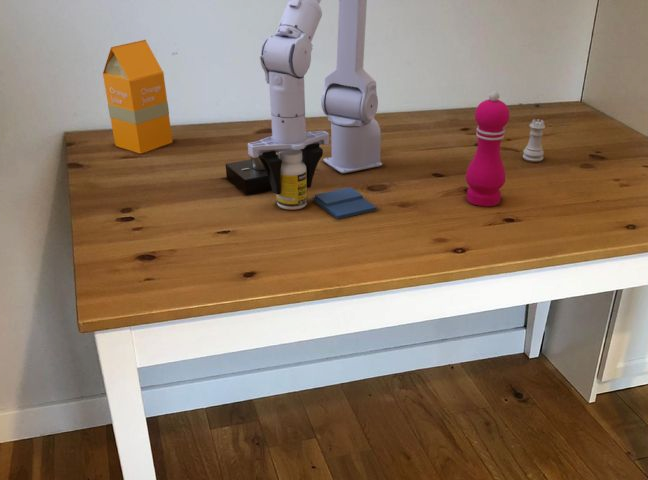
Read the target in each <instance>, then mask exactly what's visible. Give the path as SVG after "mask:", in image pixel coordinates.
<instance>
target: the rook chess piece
mask: <svg viewBox="0 0 648 480" xmlns="http://www.w3.org/2000/svg"><path fill="white" fill-rule="evenodd" d="M529 127H530V131H529V139H528V143H527V145H526V146H525V148H524V149H523V154H522V158H523V160H524V161H526V162H530V163H540V162H542V161H543V160H544V154H545V153H544V152H545V151H544V150H543V145H542V137H543V135H544V133H543V131H544V129H545V128H546V125H545V121H544V120H543V119H532V120H531V123H530V124H529Z"/></svg>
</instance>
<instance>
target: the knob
mask: <svg viewBox="0 0 648 480" xmlns="http://www.w3.org/2000/svg"><path fill="white" fill-rule="evenodd" d="M250 159H251V167H252V168H253V169H256V170H265V168H264V166H263V164H262V163H261V161H260V159H259V158H258V157H256V158H253V157H251V156H250Z"/></svg>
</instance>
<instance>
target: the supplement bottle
mask: <svg viewBox="0 0 648 480" xmlns="http://www.w3.org/2000/svg"><path fill="white" fill-rule="evenodd" d="M278 155H279V159H281V160H282V165H281V173H280V181H281V194H276V204H277V206H278V207H279V208H281V209H284V210H300V209H303V208H305V207H306V206H307V204H308V188H307V170H306V165H305V164H304V163H303V162H301V161H302V151H301V150H300V149H299V150H294V149H292V150H286V151H281V152H278Z"/></svg>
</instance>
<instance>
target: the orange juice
mask: <svg viewBox="0 0 648 480" xmlns="http://www.w3.org/2000/svg"><path fill="white" fill-rule="evenodd" d="M102 77H103V78H102V79H103V83H104V89H105V90H104V91H105V94H106V101H107V107H108V113H109V114H108V115H109V118H110V123H111V129H112V135H113V140H114V146H115V147H118V148H121V149H124V150H127V151H130V152H134V153H136V154H140V155H141V154H144V153H147V152H149V151H150V152H151V151H153V150H155V149H158V148H161V147H164V146H167V145H170V144H173V135H172V128H171V120H170V109H169V101H168V96H167V89H166V82H165V81H166V80H165V74H164V71H163V69H162V67H161V65H160V64H159V62H158V60H157V58H156V56H155V54H154V52H153V50H152V49H151V47H150V46H149V43H148V41H147V39H143V40H138V41H134V42H129V43H124V44H120V45H114V46H111V47H110V49H109V53H108V56H107V59H106V62H105V66H104V69H103V72H102Z"/></svg>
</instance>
